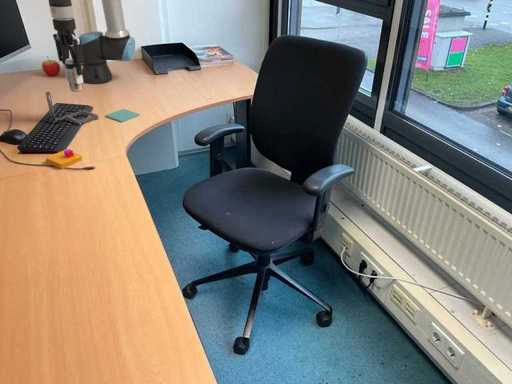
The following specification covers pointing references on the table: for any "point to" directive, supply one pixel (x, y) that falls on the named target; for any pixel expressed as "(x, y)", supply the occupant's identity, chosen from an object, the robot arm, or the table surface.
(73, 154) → the orange flat block
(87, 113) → the square frame with rod
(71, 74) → the beer can
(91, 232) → the table surface
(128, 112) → the coaster
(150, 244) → the table surface
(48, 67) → the apple
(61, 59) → the robot arm
